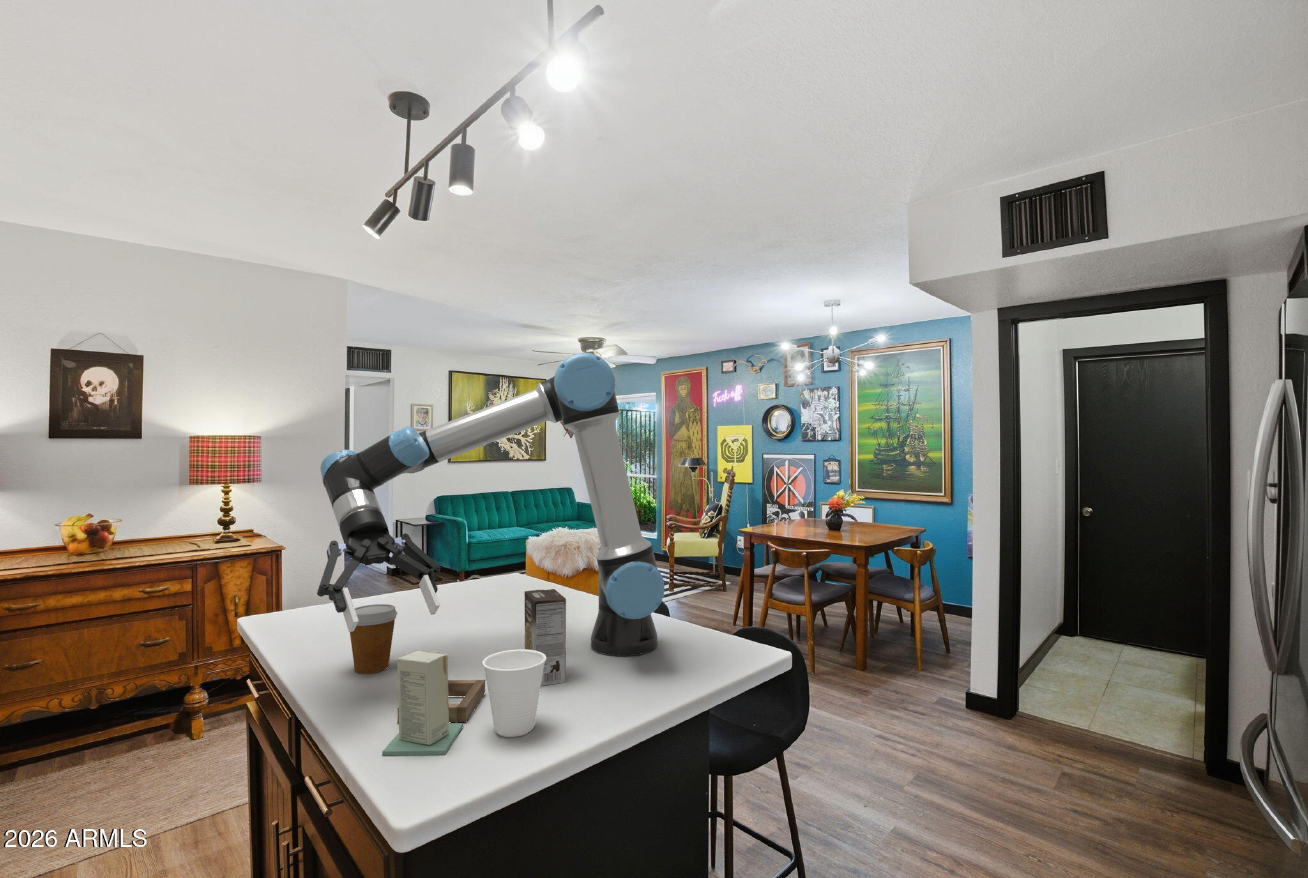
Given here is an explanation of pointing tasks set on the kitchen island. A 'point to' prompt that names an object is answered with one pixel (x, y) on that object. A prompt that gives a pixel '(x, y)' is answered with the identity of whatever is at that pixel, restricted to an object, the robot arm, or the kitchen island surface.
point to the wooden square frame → (472, 694)
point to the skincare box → (423, 697)
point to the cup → (514, 689)
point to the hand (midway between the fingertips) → (396, 618)
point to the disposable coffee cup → (373, 637)
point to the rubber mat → (423, 749)
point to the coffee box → (547, 631)
